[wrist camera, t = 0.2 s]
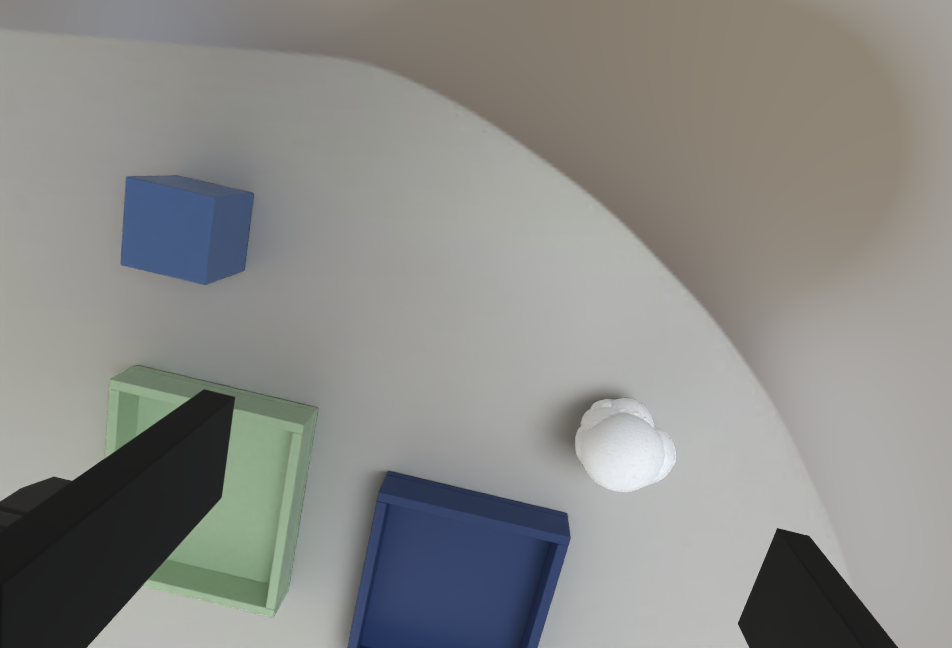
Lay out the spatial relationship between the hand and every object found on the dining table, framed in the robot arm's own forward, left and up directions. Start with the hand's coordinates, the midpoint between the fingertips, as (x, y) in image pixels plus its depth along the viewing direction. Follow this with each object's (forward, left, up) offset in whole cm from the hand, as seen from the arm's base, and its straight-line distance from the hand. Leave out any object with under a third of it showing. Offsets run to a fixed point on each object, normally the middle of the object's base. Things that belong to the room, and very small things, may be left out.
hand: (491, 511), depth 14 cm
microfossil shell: (+5, +8, -20) cm, 22 cm away
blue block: (-1, -17, -20) cm, 26 cm away
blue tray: (+18, +1, -20) cm, 27 cm away
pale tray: (+15, -15, -20) cm, 29 cm away
